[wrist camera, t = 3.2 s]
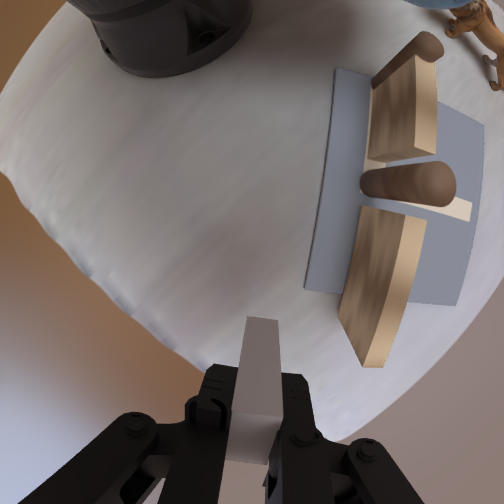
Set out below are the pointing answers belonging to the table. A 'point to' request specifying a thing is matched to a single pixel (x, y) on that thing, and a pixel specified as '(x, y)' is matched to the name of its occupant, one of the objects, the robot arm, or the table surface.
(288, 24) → the table surface
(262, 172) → the table surface
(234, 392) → the robot arm
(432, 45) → the fence post and fixed section
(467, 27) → the lion figurine
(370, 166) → the card
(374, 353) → the hinged fence panel
